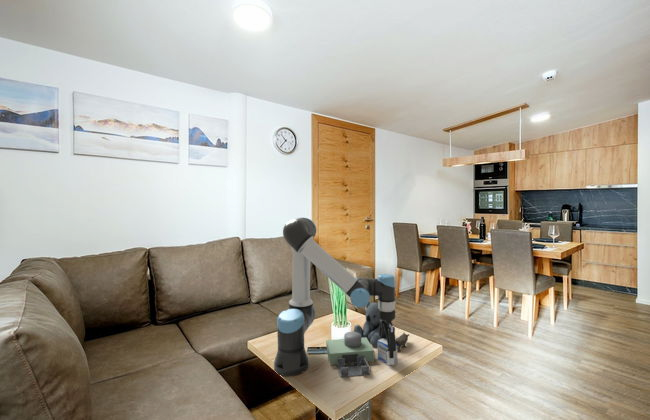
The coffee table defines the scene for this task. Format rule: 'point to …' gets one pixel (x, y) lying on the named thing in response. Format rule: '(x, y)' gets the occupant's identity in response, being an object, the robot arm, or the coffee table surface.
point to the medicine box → (385, 351)
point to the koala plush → (370, 324)
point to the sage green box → (349, 348)
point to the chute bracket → (353, 367)
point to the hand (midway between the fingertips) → (387, 358)
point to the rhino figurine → (401, 341)
